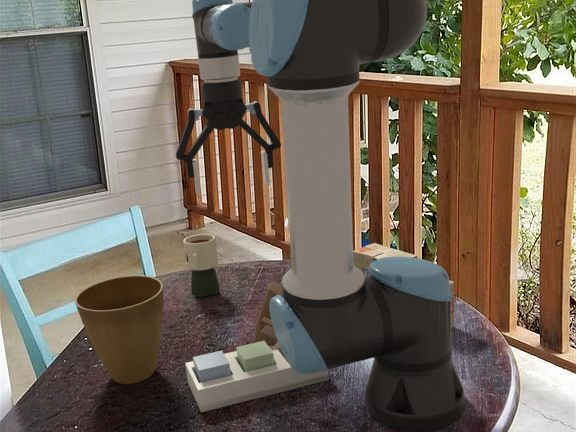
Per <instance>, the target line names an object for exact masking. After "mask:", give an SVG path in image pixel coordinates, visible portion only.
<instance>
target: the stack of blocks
mask: <svg viewBox="0 0 576 432" xmlns="http://www.w3.org/2000/svg"><path fill="white" fill-rule="evenodd" d="M384 257H412V258H418V255H416V254H413V253H410V252H405V251H402V250H399V249H395V248H392V247H389V246H386V245H385V246H384V245H383V244H379V243H377V242H373V243H371V244H367V245H365V246H363V247H359V248H355V249H353V265H354V266H356V267H357V268H358V269H359V270H361V271H362V272H363V274H364V276H365V277H367V276H369V275H370V274H369V273H368V270H369V267H370V264H371V263H372V262H374V261H375V260H377V259H380V258H384ZM449 281H450V289H451V295H452V300H451V329H453V328H454V327H455V300H454V299H455V282H454V281H453V280H450V279H449Z"/></svg>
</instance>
